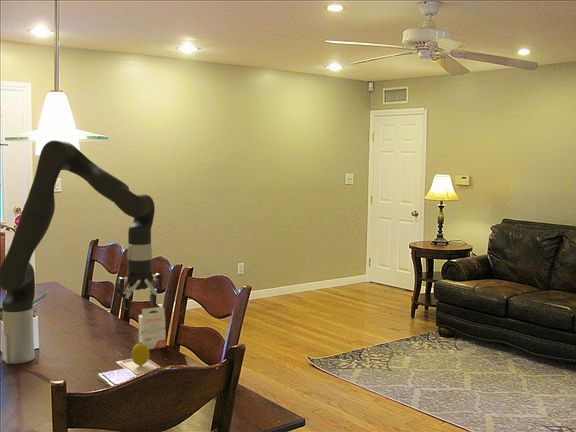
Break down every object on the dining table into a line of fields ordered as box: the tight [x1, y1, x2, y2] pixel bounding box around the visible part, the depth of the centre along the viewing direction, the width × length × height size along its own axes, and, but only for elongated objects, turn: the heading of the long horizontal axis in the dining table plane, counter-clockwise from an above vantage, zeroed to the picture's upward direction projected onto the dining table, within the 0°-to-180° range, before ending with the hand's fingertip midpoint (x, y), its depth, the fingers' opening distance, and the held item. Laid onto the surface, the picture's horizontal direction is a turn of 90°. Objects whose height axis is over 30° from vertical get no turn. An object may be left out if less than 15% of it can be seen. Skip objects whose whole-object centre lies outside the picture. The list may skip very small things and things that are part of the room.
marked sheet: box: [115, 358, 161, 376], centre depth 203 cm, size 10×18×1 cm, turn 36°
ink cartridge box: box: [138, 306, 167, 350], centre depth 224 cm, size 9×5×15 cm, turn 118°
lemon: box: [131, 342, 150, 367], centre depth 203 cm, size 6×6×8 cm
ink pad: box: [98, 368, 136, 388], centre depth 191 cm, size 9×13×2 cm
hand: (140, 307), depth 201 cm, fingers open, 8 cm apart
